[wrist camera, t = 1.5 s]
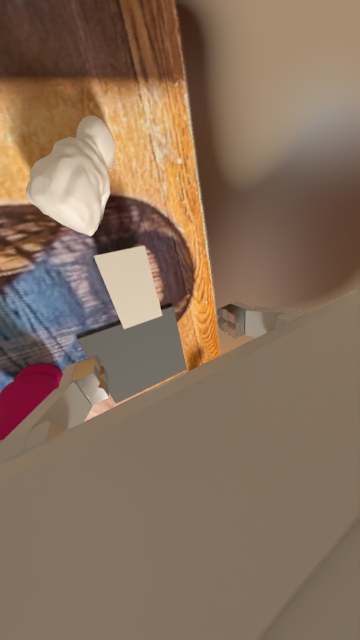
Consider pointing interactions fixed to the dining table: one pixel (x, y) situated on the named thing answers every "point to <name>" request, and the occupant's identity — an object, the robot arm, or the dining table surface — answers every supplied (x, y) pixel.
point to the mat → (137, 354)
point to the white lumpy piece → (75, 177)
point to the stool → (130, 285)
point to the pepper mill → (26, 395)
